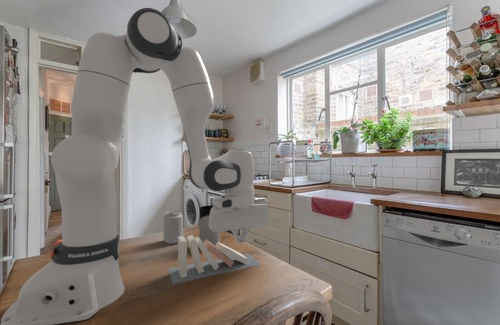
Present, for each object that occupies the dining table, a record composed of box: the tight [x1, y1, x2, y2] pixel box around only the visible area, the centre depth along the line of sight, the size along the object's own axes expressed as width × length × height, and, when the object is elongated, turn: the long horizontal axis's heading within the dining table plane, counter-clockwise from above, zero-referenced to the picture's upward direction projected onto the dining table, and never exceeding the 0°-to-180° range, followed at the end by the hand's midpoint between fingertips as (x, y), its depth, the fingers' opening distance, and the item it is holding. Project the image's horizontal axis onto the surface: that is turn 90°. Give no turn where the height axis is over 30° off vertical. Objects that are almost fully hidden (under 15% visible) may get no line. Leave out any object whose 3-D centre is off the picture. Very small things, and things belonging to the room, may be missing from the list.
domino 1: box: [177, 235, 188, 278], centre depth 70 cm, size 2×5×10 cm, turn 26°
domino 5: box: [215, 242, 248, 264], centre depth 77 cm, size 2×5×10 cm
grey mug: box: [198, 204, 221, 246], centre depth 96 cm, size 9×14×15 cm, turn 178°
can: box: [163, 210, 184, 245], centre depth 98 cm, size 8×8×12 cm
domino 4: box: [204, 240, 234, 267], centre depth 75 cm, size 2×5×10 cm
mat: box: [167, 253, 262, 285], centre depth 75 cm, size 27×10×1 cm, turn 116°
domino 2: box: [186, 234, 204, 274], centre depth 72 cm, size 2×5×10 cm, turn 26°
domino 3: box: [194, 236, 219, 270], centre depth 73 cm, size 2×5×10 cm
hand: (240, 242), depth 78 cm, fingers closed
